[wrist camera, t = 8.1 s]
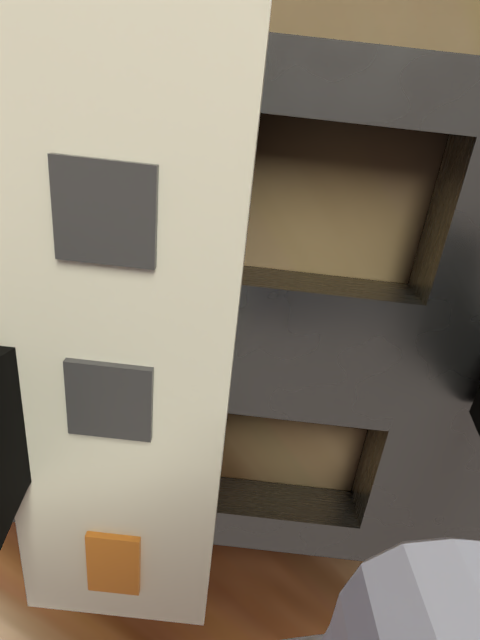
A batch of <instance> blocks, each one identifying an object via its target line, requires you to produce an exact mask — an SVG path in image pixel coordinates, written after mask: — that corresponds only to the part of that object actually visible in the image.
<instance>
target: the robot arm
mask: <svg viewBox="0 0 480 640" xmlns="http://www.w3.org/2000/svg"><path fill="white" fill-rule="evenodd" d="M469 413H470V415H471V418H472V420H473V422H474V425H475V427H476V430H477V432H478V434H479V436H480V385H479V388H478V390H477V393H476V395H475V398H474V400H473V403H472V405H471V408H470V411H469ZM31 482H32V481H31V472H30V464H29V456H28V448H27V440H26V431H25V423H24V415H23V407H22V399H21V390H20V382H19V374H18V366H17V357H16V349H15V347H8V346H0V550H1V547H2V545H3V543H4V540H5V538H6V536H7V533H8V531H9V529H10V526H11V524H12V522H13V520H14V518H15V516H16V513H17V511H18V509H19V507H20V505H21V502H22V500H23V498H24V496H25V494H26V492H27V490H28V488H29V486H30V484H31ZM283 640H480V540H473V539H462V538H450V537H444V538H434V539H423V540H413V541H403V542H401V543H398V544H396V545H394V546H392V547H390V548H388V549H386V550H384V551H382V552H380V553H378V554H376V555H374V556H372V557H370V558H368V559H366V560H365V561H364V562H363V563H362V564H361V565H360V566H359V567H358V569H357V570H356V571H355V573H354V574H353V576H352V577H351V578H350V580H349V581H348V582H347V584H346V585H345V586H344V588H343V589H342V590H341V592H340V593H339V596H338V600H337V603H336V606H335V609H334V613H333V616H332V619H331V623H330V625H329V627H328V629H327V631H326V633H325V634H321V635H313V636H305V637H298V638H290V639H283Z"/></svg>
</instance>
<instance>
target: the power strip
mask: <svg viewBox="0 0 480 640" xmlns="http://www.w3.org/2000/svg"><path fill="white" fill-rule="evenodd" d="M271 4H272V0H0V346H8V347H15V349H16V357H17V366H18V374H19V382H20V390H21V399H22V407H23V415H24V423H25V431H26V440H27V448H28V456H29V464H30V472H31V481H32V482H31V484H30V486H29V488H28V490H27V492H26V494H25V496H24V498H23V500H22V502H21V505H20V507H19V509H18V511H17V513H16V516H15V524H16V530H17V537H18V544H19V550H20V557H21V563H22V570H23V577H24V583H25V590H26V597H27V603H28V606H31V607H40V608H49V609H58V610H68V611H77V612H86V613H95V614H104V615H113V616H122V617H131V618H140V619H149V620H158V621H167V622H176V623H186V624H195V625H204V619H205V611H206V602H207V593H208V584H209V576H210V567H211V558H212V550H213V541H214V532H215V523H216V515H217V506H218V497H219V488H220V478H221V469H222V460H223V451H224V442H225V433H226V424H227V414H228V405H229V396H230V387H231V378H232V369H233V360H234V351H235V341H236V332H237V323H238V314H239V305H240V296H241V287H242V277H243V268H244V259H245V250H246V241H247V232H248V223H249V214H250V204H251V195H252V186H253V177H254V168H255V159H256V150H257V140H258V131H259V122H260V113H261V104H262V95H263V86H264V76H265V67H266V58H267V49H268V40H269V28H270V16H271Z"/></svg>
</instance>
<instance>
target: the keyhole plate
mask: <svg viewBox="0 0 480 640" xmlns="http://www.w3.org/2000/svg"><path fill="white" fill-rule="evenodd" d="M261 113H263V114H272V115H281V116H290V117H299V118H308V119H317V120H326V121H335V122H344V123H353V124H362V125H371V126H380V127H389V128H398V129H407V130H416V131H425V132H434V133H443V134H449V137H448V140H447V144H446V148H445V151H444V155H443V159H442V162H441V166H440V170H439V173H438V177H437V181H436V184H435V188H434V192H433V195H432V199H431V202H430V206H429V210H428V213H427V217H426V221H425V224H424V228H423V232H422V235H421V239H420V243H419V246H418V250H417V254H416V257H415V261H414V265H413V268H412V272H411V275H410V279H409V283H408V284H402V283H393V282H384V281H375V280H366V279H357V278H348V277H339V276H330V275H321V274H312V273H303V272H294V271H285V270H276V269H267V268H258V267H249V266H244V268H243V277H242V287H241V296H240V305H239V314H238V323H237V332H236V341H235V351H234V360H233V369H232V378H231V387H230V396H229V405H228V413H229V414H238V415H247V416H255V417H264V418H273V419H282V420H291V421H300V422H309V423H318V424H327V425H336V426H345V427H354V428H363V429H368V432H367V436H366V440H365V443H364V447H363V451H362V454H361V458H360V461H359V465H358V469H357V472H356V476H355V480H354V483H353V487H352V491H351V492H350V491H341V490H332V489H323V488H314V487H305V486H296V485H287V484H278V483H269V482H261V481H252V480H243V479H234V478H225V477H221V478H220V488H219V497H218V506H217V515H216V523H215V532H214V541H213V544H214V545H223V546H232V547H241V548H250V549H259V550H268V551H277V552H286V553H294V554H303V555H312V556H321V557H330V558H339V559H348V560H357V561H365V560H366V559H368V558H370V557H372V556H374V555H376V554H378V553H380V552H382V551H384V550H386V549H388V548H390V547H392V546H394V545H396V544H398V543H401V542H403V541H413V540H423V539H434V538H444V537H450V538H462V539H473V540H480V436H479V434H478V432H477V430H476V427H475V425H474V422H473V420H472V418H471V415H470V413H469V411H470V408H471V405H472V403H473V400H474V398H475V395H476V393H477V390H478V388H479V385H480V56H479V55H470V54H461V53H452V52H443V51H434V50H425V49H416V48H407V47H398V46H389V45H380V44H371V43H362V42H353V41H344V40H335V39H326V38H317V37H308V36H299V35H291V34H282V33H273V32H269V40H268V49H267V58H266V67H265V76H264V86H263V95H262V104H261ZM13 522H15V518H14V520H13Z"/></svg>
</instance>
